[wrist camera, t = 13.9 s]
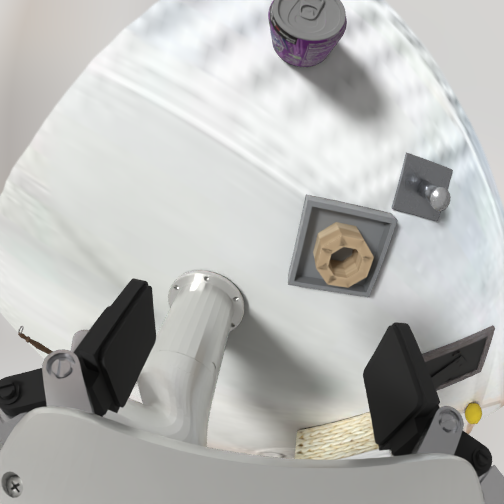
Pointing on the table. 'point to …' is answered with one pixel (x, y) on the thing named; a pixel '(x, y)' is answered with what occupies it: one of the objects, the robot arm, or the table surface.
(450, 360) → the picture frame
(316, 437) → the storage basket
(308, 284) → the charcoal tray
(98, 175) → the table surface
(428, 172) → the grey knobbed square plate
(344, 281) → the maple ring
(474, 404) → the lemon
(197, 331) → the robot arm
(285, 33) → the beverage can
